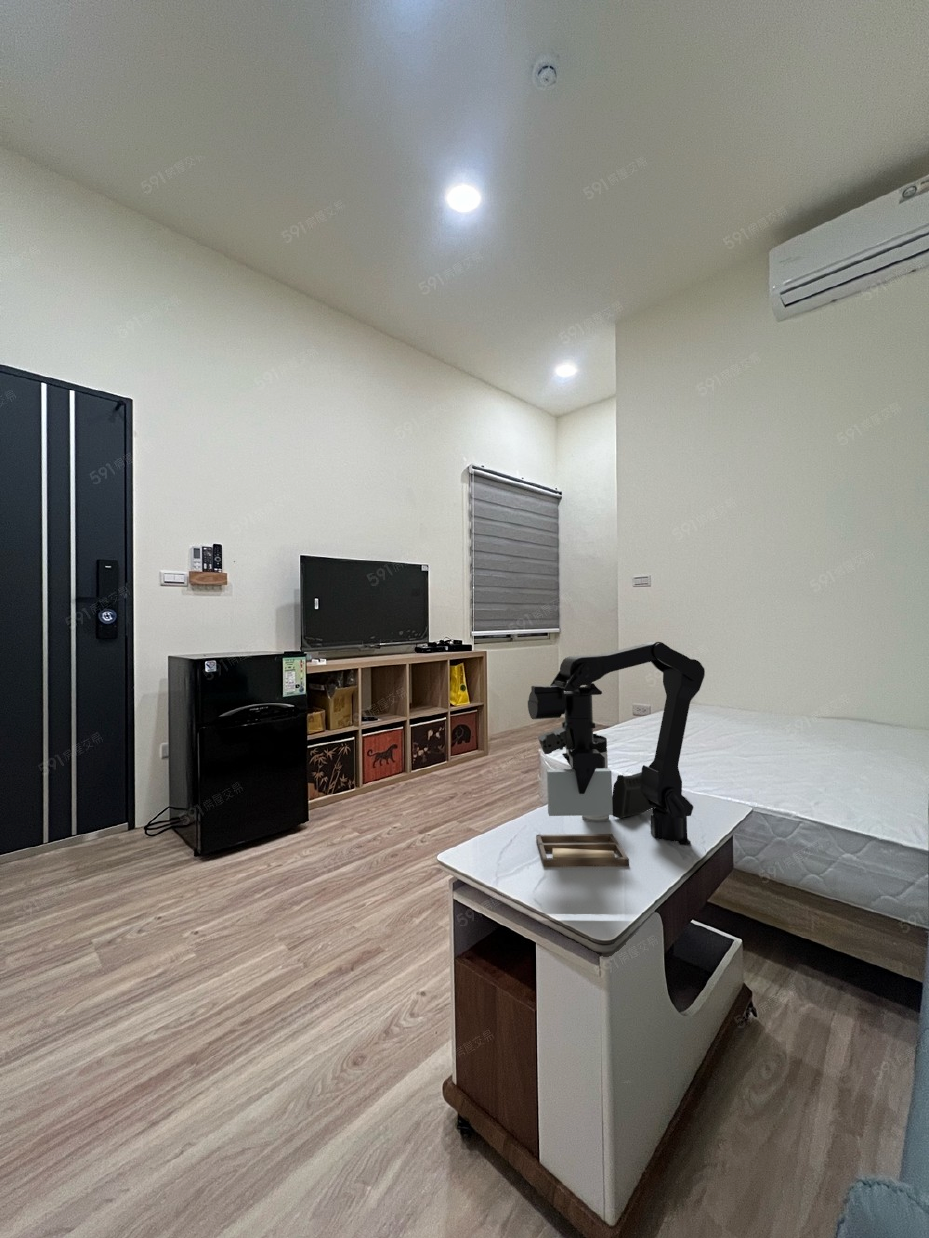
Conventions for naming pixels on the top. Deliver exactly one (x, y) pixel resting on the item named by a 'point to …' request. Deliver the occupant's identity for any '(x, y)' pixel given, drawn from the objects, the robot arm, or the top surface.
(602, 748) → the travel mug
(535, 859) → the top surface
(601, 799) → the gray rectangular panel
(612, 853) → the offcut top
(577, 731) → the robot arm
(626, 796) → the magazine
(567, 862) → the brown wooden tray
